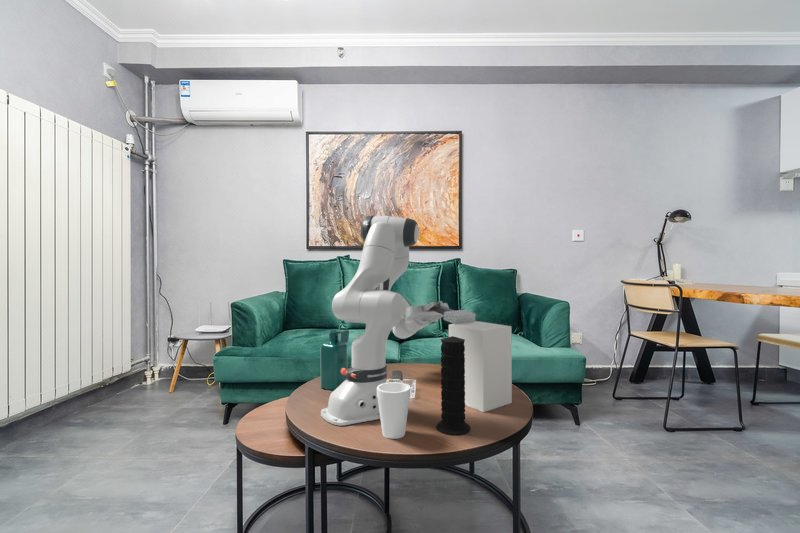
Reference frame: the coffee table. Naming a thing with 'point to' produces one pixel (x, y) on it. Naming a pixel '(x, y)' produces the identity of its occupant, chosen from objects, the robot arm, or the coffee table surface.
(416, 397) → the coffee table surface
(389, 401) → the foam cup
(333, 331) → the green bottle
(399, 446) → the coffee table surface
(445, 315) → the hammer
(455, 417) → the handle grip
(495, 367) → the plinth
